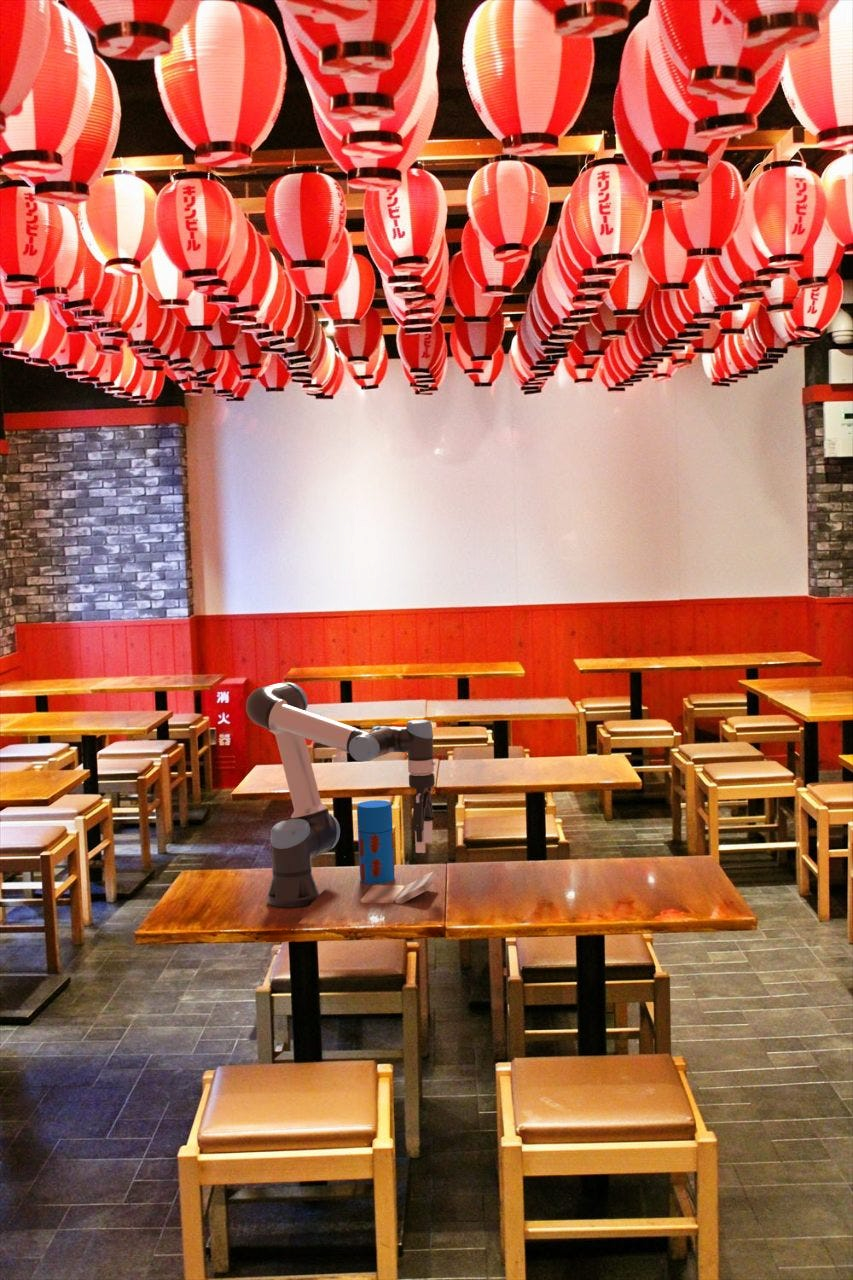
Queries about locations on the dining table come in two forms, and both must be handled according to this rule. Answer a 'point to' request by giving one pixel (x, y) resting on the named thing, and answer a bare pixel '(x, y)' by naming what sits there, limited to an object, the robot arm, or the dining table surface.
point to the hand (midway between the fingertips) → (424, 847)
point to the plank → (416, 888)
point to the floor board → (382, 894)
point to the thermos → (375, 841)
